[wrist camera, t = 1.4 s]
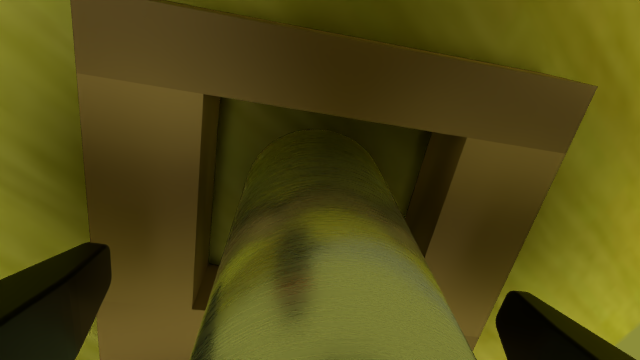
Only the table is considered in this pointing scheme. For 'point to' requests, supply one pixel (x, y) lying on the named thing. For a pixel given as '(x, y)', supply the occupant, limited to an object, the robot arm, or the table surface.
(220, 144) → the table surface
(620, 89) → the table surface
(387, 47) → the pocket block
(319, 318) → the clear glass jar
